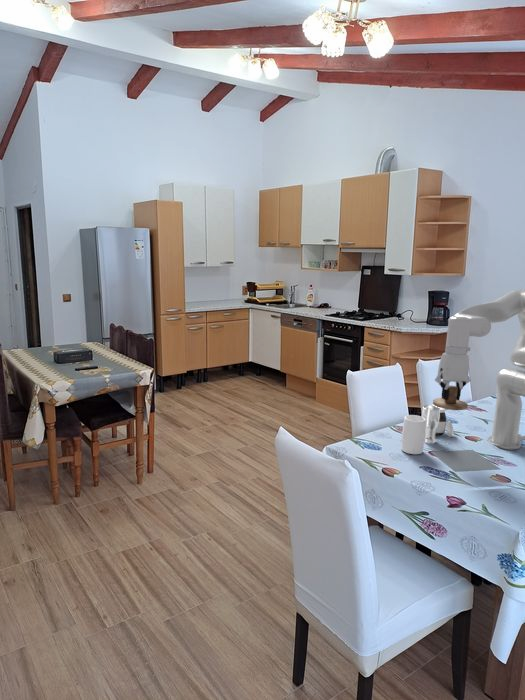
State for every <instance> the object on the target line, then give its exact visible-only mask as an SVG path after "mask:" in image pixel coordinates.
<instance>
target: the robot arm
mask: <svg viewBox="0 0 525 700" xmlns="http://www.w3.org/2000/svg"><path fill="white" fill-rule="evenodd" d="M516 315H517V317H518V320H519V324H520V332H519V334H518V337H517V340H516V341H515V342H516V343H515V344H514V346H513V348H512V351H511V354H510V358H509V360H510V363H511V364H512V365H513V366H515V367H517V368H521V369H525V289H522V288H521V289H520V288H519V289H514V290H512V291H509V292H508V293H506V294H505V295H503V296H501V297H499V298H497V299H496V300H493V301H487V302H484V303H480V304H476V305H473V306H472V305H471V306H469V307H466V308H464V309H462V310H459V312H457V313H456V314H455V315H452V316H450V317H449V318H448V323H447V331H446V333H447V334H446V342H445V350H444V352H443V353H442V355H441V357H440V361H439V364H438V369H437V375H436V377H435V379H434V381H435V382H436V383H437V384H438V385H439V386H440V387H441V398H443V399H444V400H448V396H449V390H448V387H449V385H450V383H451V382H453V383H454V382H455V386H456V387H458V391H457V400H460V398H461V393H462V390H463V388H464V387H465V386H466V385H467V384H468V383H470V382H471V378H470V376H469V373H470V358H469V354H468V353H469V352H470V351H471V347H469V341H470V337H474V338H482V337H486V336H487V335H489V334H490V332H491V330H492V324H495V323H503V322H506V321H507V320H509V319H511V318H513V317H514V316H516ZM495 379H496V380H495V383H496V384H495V385H496V401H495V402H496V403H495V410H494V416H493V425H492V432H491V436H489V437H487V440H486V441H487V442H488V443H489V444H490V445H493V446H495V447H496V448H498V449H502V450H510V451H511V450H512V451H513V450H519V449H520V448H521V447H522V443H521V442H522V441H525V435H522V434H519V430H520V423H521V416H522V410H523V401H522V397H524V398H525V371H524V370H519V369H515V368H511V367H510V368H508V367H507V368H503V369H501V370H500V371H498V373H497V374H496V378H495Z"/></svg>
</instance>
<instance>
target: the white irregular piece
mask: <svg viewBox="0 0 525 700" xmlns="http://www.w3.org/2000/svg"><path fill="white" fill-rule="evenodd" d="M433 405H434V404H433ZM434 406H435V405H434ZM439 408H440V407H439ZM445 432H446V433H447V435H448V437H449V438H453V437H454V426H453V423H452V421H451V420H447V414H446V409H444V408H440V419H439V424H438V428H437V431H436V436H435V437H439V436H443V435H445Z"/></svg>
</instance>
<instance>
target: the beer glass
mask: <svg viewBox="0 0 525 700" xmlns="http://www.w3.org/2000/svg"><path fill="white" fill-rule="evenodd" d="M421 417H423V418H425V419H426V432H425V441H424V444H435V443H437V440H436V437H437V436H436V431H437V428H438V424H439V419H440V408H439V407H437V406H434V404H425V405H423V406H422V411H421Z"/></svg>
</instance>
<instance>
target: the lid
mask: <svg viewBox="0 0 525 700" xmlns="http://www.w3.org/2000/svg"><path fill="white" fill-rule="evenodd" d="M448 390H449V396H448V400H444V399H443V398H442V397H437V398H434V399H433V400H432V405H435V406H437V407H440V408H444V409H445V410H449V411H464V410H467V409H468V403H467V402H465V401H463V400H460V399H459V400H457V391H458V387H456V385H450V384H449V387H448Z"/></svg>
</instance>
